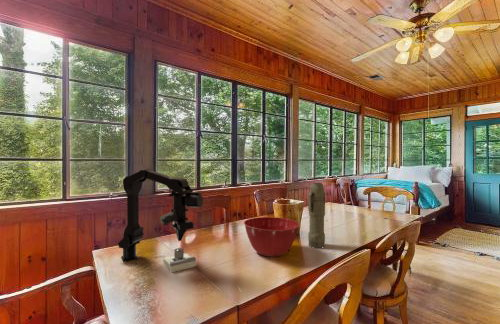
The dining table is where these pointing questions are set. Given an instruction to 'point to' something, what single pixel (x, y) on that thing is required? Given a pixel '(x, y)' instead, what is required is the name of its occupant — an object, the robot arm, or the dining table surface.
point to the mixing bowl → (271, 234)
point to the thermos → (316, 215)
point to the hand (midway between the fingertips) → (179, 240)
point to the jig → (179, 263)
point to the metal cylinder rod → (178, 254)
